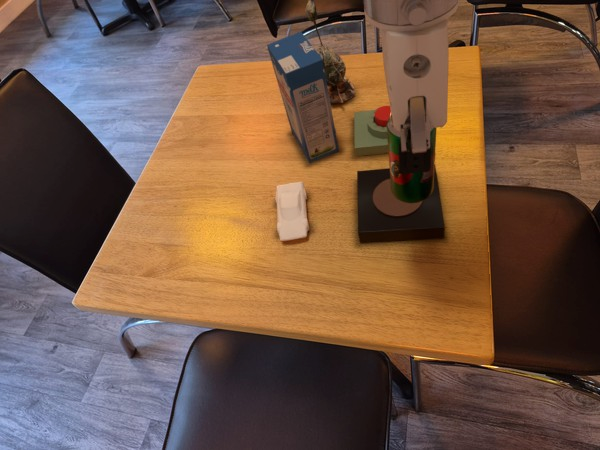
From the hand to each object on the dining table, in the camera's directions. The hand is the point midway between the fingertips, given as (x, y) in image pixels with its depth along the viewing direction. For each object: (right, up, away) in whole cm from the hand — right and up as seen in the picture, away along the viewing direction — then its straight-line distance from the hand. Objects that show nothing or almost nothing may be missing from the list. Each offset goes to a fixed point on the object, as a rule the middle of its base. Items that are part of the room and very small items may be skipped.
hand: (411, 150), depth 49 cm
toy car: (-14, -7, +28) cm, 32 cm away
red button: (+3, +11, +32) cm, 34 cm away
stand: (+4, -6, +24) cm, 25 cm away
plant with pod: (-5, +20, +45) cm, 50 cm away
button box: (+4, +9, +35) cm, 36 cm away
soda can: (+1, -4, +5) cm, 7 cm away
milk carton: (-10, +8, +38) cm, 40 cm away
